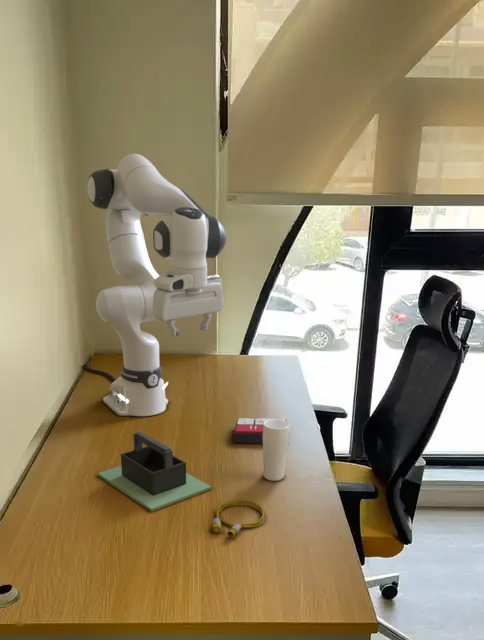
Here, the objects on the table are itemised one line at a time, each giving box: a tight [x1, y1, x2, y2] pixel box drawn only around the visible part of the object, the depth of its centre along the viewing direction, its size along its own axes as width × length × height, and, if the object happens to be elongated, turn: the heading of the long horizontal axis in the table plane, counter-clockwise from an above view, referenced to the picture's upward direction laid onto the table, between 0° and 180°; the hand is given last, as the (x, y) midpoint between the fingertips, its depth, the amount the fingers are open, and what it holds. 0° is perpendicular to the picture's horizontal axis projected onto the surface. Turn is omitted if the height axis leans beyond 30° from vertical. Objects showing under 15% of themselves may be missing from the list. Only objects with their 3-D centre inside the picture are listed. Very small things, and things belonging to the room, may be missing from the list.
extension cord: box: [211, 499, 265, 538], centre depth 159 cm, size 12×16×2 cm
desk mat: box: [97, 465, 212, 513], centre depth 174 cm, size 24×18×1 cm
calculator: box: [233, 417, 288, 444], centre depth 201 cm, size 11×4×15 cm
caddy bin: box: [120, 431, 187, 496], centre depth 172 cm, size 14×10×11 cm
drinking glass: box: [262, 418, 291, 482], centre depth 176 cm, size 7×7×15 cm
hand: (189, 332), depth 177 cm, fingers open, 8 cm apart
